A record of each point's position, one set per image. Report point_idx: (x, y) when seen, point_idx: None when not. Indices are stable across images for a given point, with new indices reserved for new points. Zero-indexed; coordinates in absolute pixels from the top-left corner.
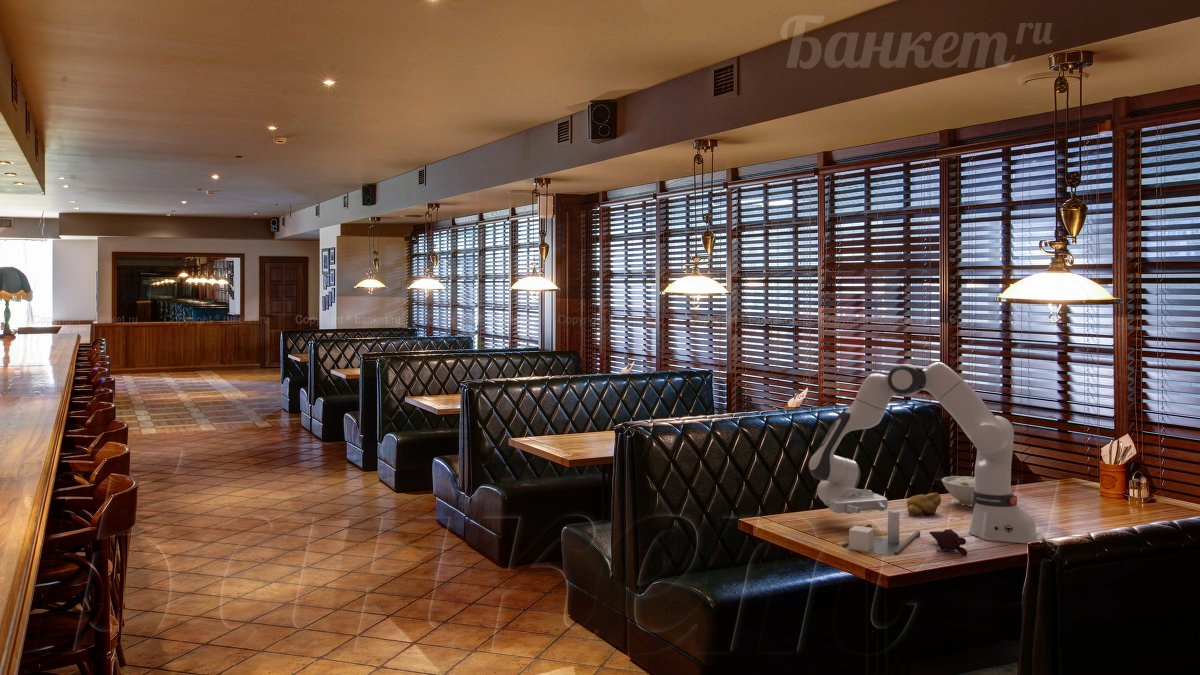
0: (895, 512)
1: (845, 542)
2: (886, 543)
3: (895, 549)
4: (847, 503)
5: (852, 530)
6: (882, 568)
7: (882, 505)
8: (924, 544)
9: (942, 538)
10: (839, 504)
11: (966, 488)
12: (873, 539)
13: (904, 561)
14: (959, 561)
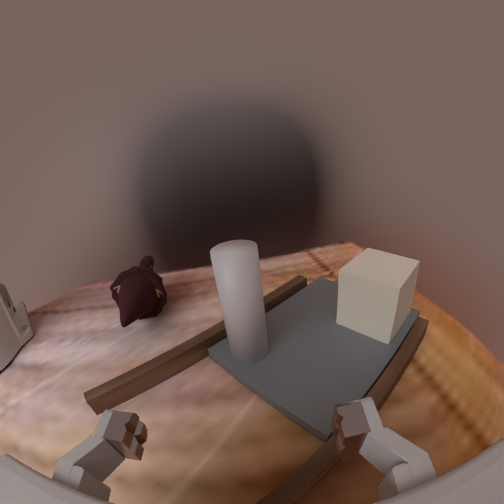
0: (235, 243)
1: (419, 331)
2: (278, 345)
3: (283, 304)
4: (425, 482)
5: (409, 258)
6: (353, 258)
7: (109, 419)
8: (149, 355)
9: (159, 279)
10: (493, 444)
11: None
12: (339, 301)
13: None
14: (191, 273)
